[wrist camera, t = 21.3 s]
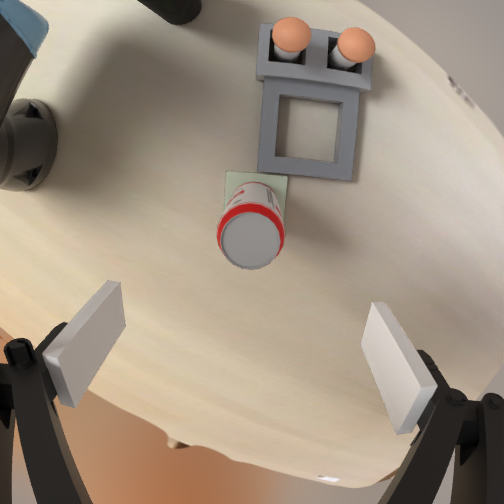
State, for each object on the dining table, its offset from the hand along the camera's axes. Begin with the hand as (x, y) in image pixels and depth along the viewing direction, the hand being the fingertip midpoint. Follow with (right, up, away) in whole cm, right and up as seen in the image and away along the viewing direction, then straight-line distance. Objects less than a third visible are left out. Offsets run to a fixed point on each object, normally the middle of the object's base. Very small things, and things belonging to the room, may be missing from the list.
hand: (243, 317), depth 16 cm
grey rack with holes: (+8, +22, +22) cm, 32 cm away
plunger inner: (+5, +28, +19) cm, 34 cm away
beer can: (+1, +10, +27) cm, 28 cm away
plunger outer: (+12, +28, +19) cm, 36 cm away
